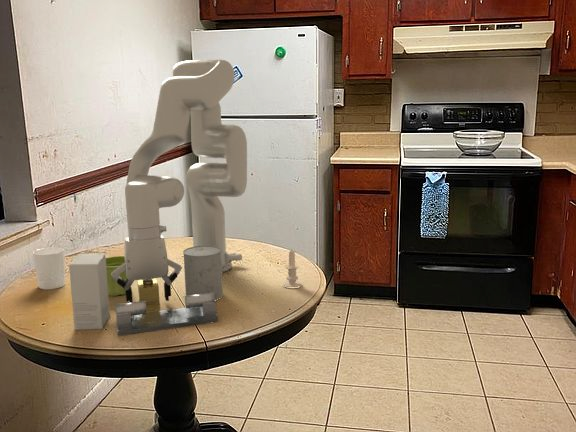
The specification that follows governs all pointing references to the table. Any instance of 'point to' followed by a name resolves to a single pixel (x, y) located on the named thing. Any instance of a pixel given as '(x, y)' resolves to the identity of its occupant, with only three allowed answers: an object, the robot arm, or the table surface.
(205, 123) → the robot arm
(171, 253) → the table surface
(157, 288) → the coupler
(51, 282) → the white cup
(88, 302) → the skincare box
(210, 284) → the grey can
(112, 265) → the plant pot
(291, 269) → the candle
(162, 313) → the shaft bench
